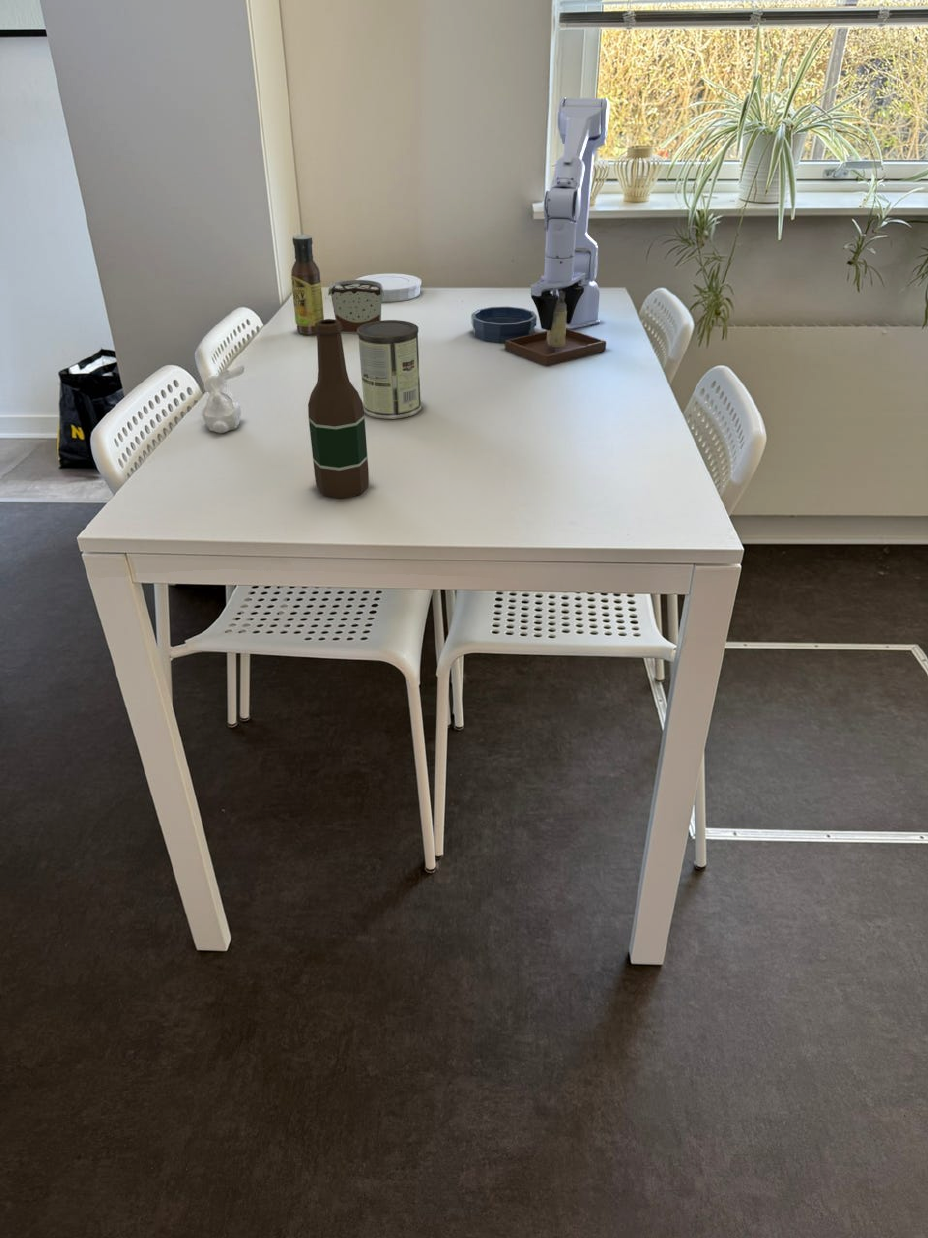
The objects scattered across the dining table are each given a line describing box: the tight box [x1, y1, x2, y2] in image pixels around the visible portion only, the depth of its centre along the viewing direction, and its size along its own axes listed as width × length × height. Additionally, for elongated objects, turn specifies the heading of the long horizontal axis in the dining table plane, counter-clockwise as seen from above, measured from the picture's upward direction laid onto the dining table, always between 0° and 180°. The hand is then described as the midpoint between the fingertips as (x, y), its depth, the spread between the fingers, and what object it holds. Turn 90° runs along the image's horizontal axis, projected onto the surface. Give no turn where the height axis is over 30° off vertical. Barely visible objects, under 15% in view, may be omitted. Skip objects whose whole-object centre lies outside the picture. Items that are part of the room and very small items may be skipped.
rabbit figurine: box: [201, 363, 245, 434], centre depth 149 cm, size 12×8×10 cm, turn 9°
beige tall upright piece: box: [546, 290, 567, 347], centre depth 180 cm, size 7×4×10 cm, turn 1°
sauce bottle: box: [290, 234, 325, 336], centre depth 191 cm, size 6×6×20 cm
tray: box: [504, 328, 607, 367], centre depth 184 cm, size 16×13×2 cm
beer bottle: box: [307, 318, 370, 499], centre depth 124 cm, size 8×8×24 cm
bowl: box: [470, 306, 538, 344], centre depth 193 cm, size 14×14×4 cm
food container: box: [327, 279, 385, 334], centre depth 195 cm, size 12×6×10 cm, turn 84°
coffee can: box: [356, 319, 422, 420], centre depth 153 cm, size 10×10×14 cm
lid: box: [355, 273, 422, 303], centre depth 223 cm, size 17×20×3 cm
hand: (556, 325), depth 181 cm, fingers closed on beige tall upright piece, 6 cm apart
